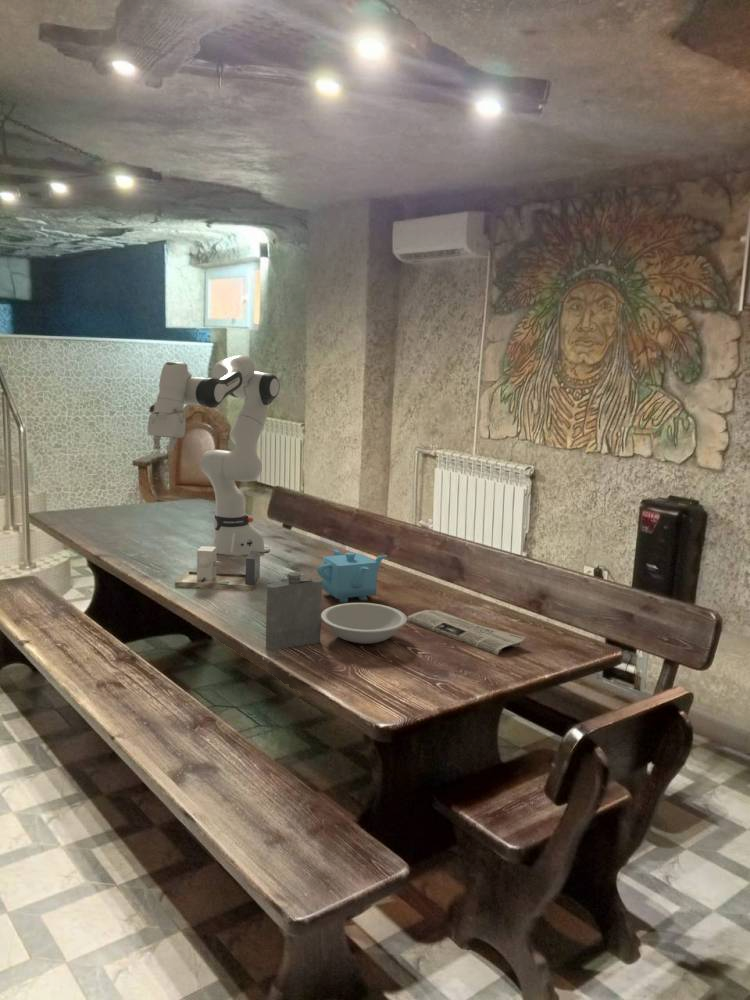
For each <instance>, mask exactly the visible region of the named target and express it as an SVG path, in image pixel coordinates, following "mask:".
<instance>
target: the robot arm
mask: <svg viewBox="0 0 750 1000" xmlns="http://www.w3.org/2000/svg"><path fill="white" fill-rule="evenodd" d="M188 369H189V368H188V364H187V363H185V362H179V361H178V362H177V361H176V362H175V361H167V362H165V363H164V364H163V367H162V369H161V372H160V378H159V384H158V388H159V391H158V394H157V397H156V402H155V403H153V404H152V405H150V406H149V409H148V413H150V414H149V416H148V421H147V434H148V435H149V436H153V437H152V442H153V450H155V451H160V450H161V446H162V445H161V443H160V441H161V439H162V438H169V439H168V440H169V442H168V444H167V445H166V451H169V452H174V449H175V445H176V444H177V442H178V439H183V438H184V436H185V434H186V425H187V424H186V423H187V422H186V420H187V419H186V417H185V413H184V405H190V406H197V407H205V408H212V409H213V408H217V407H218V406H219V405H220V404H221V403H222V402H223V400H224V399H225V398H226V397H228V396H231V397H234V398H240V399H243V400H244V402H243V405H242V406H241V408H240V410H239V412H238V414H237V415H236V418H235V420H234V422H233V425H232V426H231V429H230V431H229V437H230V438H229V439H230V441H231V442H232V443H233V445H234V448H233V450H224V449H223V450H222V449H212V450H207V451H205V452H204V453H203V454H202V456H201V457H200V463H199V464H200V465H199V466H200V469H201V471H202V473H203V474H205V476H206V477H207V478H208V480H209V482H210V483H211V487H212V488H213V492H214V496H215V498H214V499H215V514H214V520H213V523H214V524H213V526H214V536H213V542H212V545H211V547H216V554H218V555H219V554H220V555H228V556H234V557H239V556H240V557H241V556H247V555H246V554H248V555H249V553H250V552H251V551H260V552H262V553H267V552H266V551H268V552H270V546H269V545H268V544H266V543H265V541H264V536H263V534H262V533H261V532H260V531H259V530H258V529H256V527H254V526H252V525H251V524H250V523H253V522H254V518H253V516H249V515H247V514H246V513H245V512H246V508H245V507H246V497H245V494H244V493H243V491H241V490H240V489H239V488H238V486H237V484H236V482H242V483H243V482H252V481H256V480H257V479H259V477H260V475H261V473H262V470H263V467H262V465H263V464H262V462H261V459H260V458H259V456H258V454H257V444H258V442H259V438H260V436H261V433H262V431H263V428H264V427H265V423H266V420H267V418H268V417H267V416H268V411H269V406H268V405H271V403H272V402H273V401H274V400H276V398H277V396H278V394H279V392H280V387H281V386H280V380H279V379H278V377H277V376H276V375H275V374H273V373H270V372H262V371H259V370H258V371H257V370H256V365H255V362H254V361H253V359H251V357H249V356H247V355H244V354H241V355H240V354H238V355H232V356H229V357H226V358H223V359H221V360H219V361H218V362H216V363H215V364H214V365H213V367H212V371H211V377H200V376H193V375H192V374H191V373H190V371H189V370H188Z"/></svg>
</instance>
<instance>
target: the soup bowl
mask: <svg viewBox="0 0 750 1000" xmlns="http://www.w3.org/2000/svg"><path fill="white" fill-rule="evenodd" d="M407 617H408V616H407V615H406V613H404V612H402V611H401V610H399V609H397V608H394V607H392V606H387V605H384V604H380V603H379V604H378V603H373V602H372V603H371V602H346V603H338V604H336V605H332V606H329V607H327V608H325V609H324V610H323V611H321V621H322V622H323V623H324V624H326V625H327V626H328V627H329V629H330V631H332V632H333V634H335V635H336V636H337V637H339V638H340V639H343V640H344V641H347V642H351V643H357V644H375V643H381V642H383V641H386V640H388V639H390V638H391V637H392V636H394V635H395V634H396V633H397V632H398V631H399V629H400V628H402V627H404V626H406V624H407V623H408V621H407Z"/></svg>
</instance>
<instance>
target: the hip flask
mask: <svg viewBox="0 0 750 1000" xmlns="http://www.w3.org/2000/svg"><path fill="white" fill-rule="evenodd" d="M286 577H287V578H288V580H287V581H280V582H275V583H270V584H267V585H266V614H265V615H266V617H265V618H266V620H265V650H266V651H268V652H274V651H279V650H283V649H286V648H292V647H297V646H298V647H299V646H306V645H315V644H320V643H321V631H322V628H321V627H322V626H321V625H322V619H321V614H322V601H323V600H322V599H323V589H322V578H302V574H301V572H298V571H289V572H287V576H286Z"/></svg>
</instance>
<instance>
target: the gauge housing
mask: <svg viewBox="0 0 750 1000" xmlns="http://www.w3.org/2000/svg"><path fill="white" fill-rule="evenodd" d="M221 564H222V561H218V560H217V553H216V547H212V546H208V545H207V546H206V545H204V546H203V545H201V546H200V547H199V548H198V549H197V550H196V572H197V580H202V582H204V581H205V580H211V581H212V580H213V579H214V577H215V576H216V573H217V567H221Z"/></svg>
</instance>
